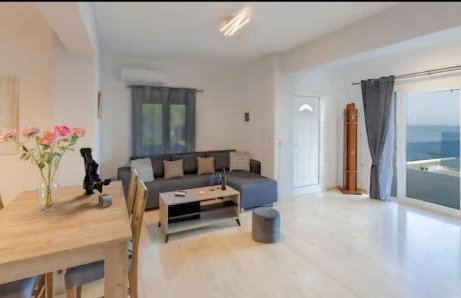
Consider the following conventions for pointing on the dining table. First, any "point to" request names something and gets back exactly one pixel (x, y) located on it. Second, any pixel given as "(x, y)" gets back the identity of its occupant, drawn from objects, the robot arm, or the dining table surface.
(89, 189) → the robot arm
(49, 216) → the dining table surface
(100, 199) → the polished metal block
